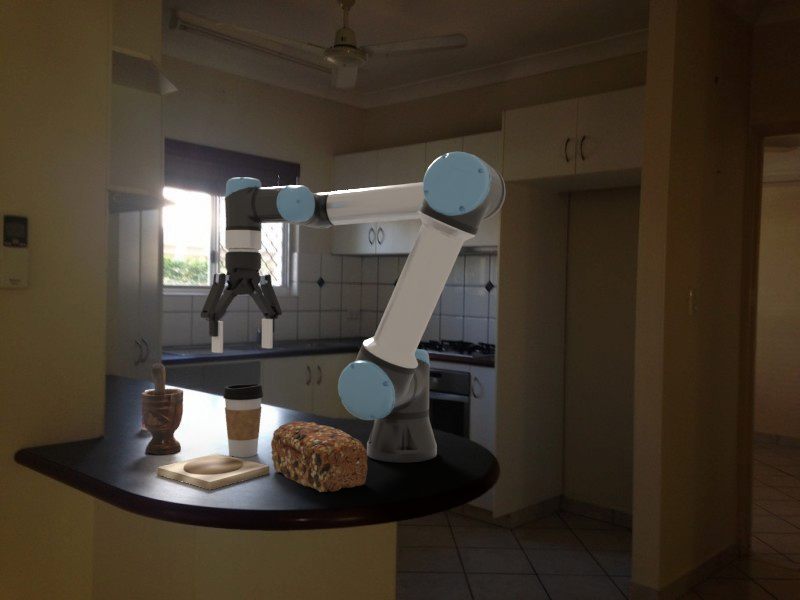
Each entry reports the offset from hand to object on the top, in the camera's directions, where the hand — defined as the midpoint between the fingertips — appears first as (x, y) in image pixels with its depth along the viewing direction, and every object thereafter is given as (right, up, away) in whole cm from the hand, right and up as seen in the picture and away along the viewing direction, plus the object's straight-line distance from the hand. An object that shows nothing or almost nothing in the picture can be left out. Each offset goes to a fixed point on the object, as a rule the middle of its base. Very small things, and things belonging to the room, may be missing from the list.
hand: (243, 350), depth 148 cm
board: (-2, -23, -16) cm, 28 cm away
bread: (+18, -23, -18) cm, 35 cm away
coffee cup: (0, -23, 0) cm, 23 cm away
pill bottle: (-29, -22, +26) cm, 44 cm away
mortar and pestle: (-17, -23, +1) cm, 28 cm away
